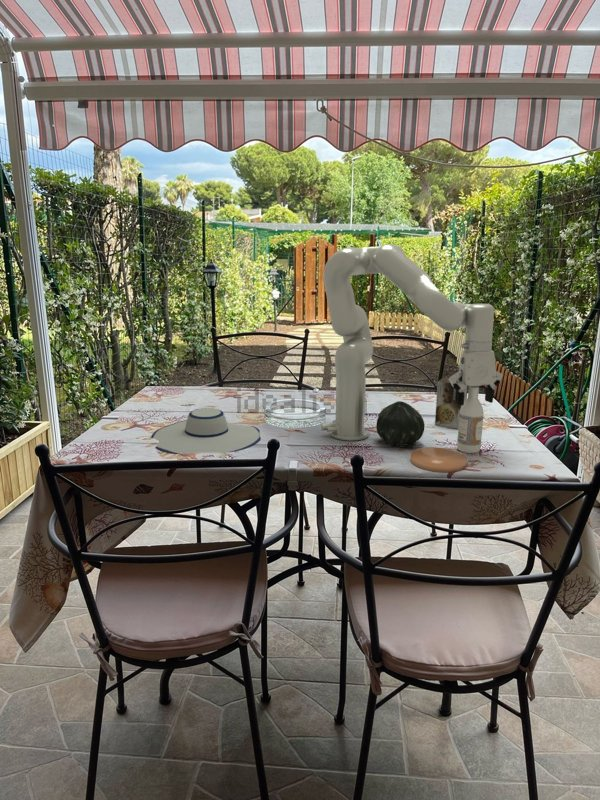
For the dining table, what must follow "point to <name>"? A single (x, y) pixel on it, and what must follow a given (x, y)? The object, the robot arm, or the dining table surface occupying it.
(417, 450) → the terracotta dish
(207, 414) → the sun hat
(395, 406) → the squash
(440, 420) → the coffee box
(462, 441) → the bath foam
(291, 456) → the dining table surface
